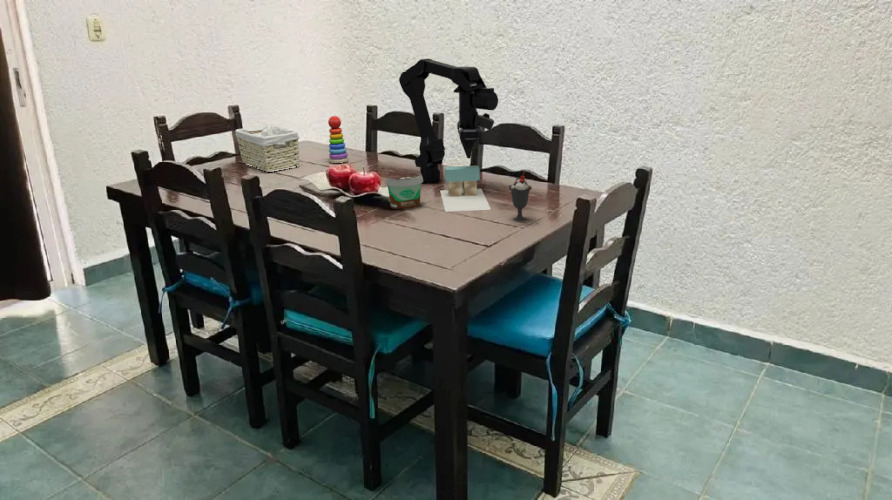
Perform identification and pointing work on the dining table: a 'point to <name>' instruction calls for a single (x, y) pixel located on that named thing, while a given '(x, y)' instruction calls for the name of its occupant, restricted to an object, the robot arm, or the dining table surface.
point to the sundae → (520, 195)
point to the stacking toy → (336, 142)
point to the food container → (405, 192)
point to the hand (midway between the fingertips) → (467, 155)
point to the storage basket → (268, 147)
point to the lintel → (462, 173)
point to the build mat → (464, 202)
